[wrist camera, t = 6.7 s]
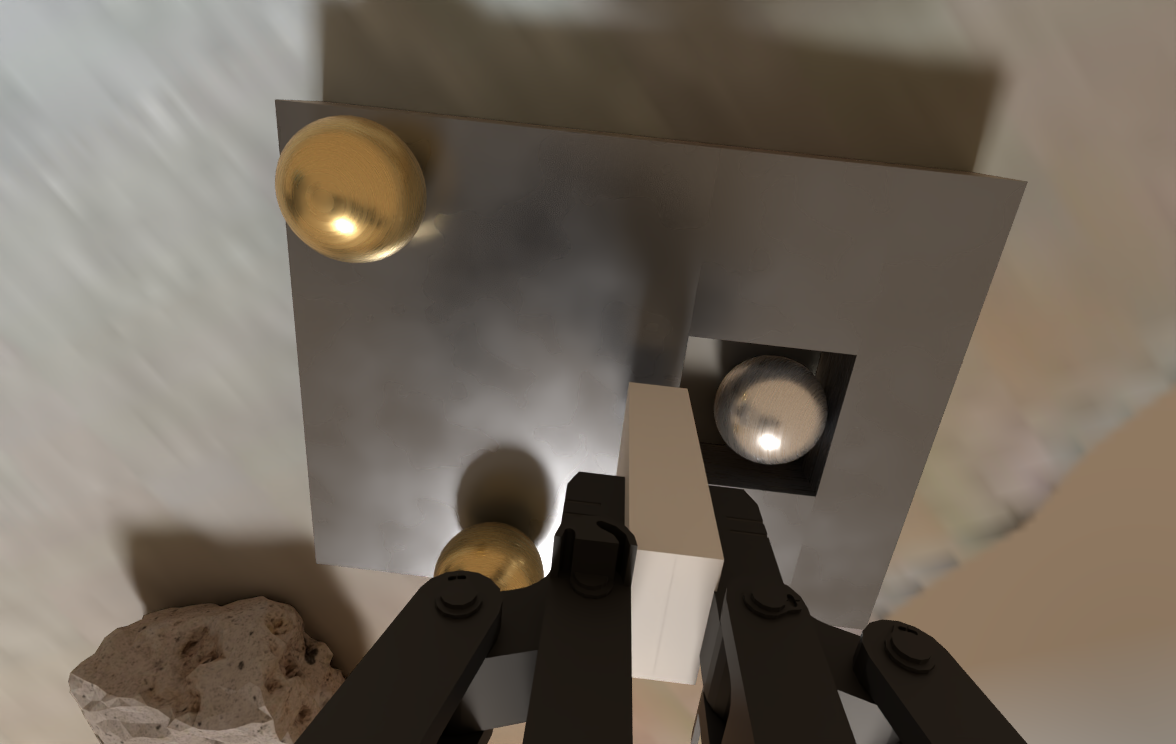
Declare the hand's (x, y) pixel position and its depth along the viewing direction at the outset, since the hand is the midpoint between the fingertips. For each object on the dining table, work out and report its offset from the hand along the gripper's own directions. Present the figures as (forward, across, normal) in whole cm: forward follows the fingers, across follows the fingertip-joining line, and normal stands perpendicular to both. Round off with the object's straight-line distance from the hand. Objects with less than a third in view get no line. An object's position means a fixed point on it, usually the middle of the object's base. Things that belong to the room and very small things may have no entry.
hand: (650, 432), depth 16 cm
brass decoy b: (0, -4, -5) cm, 7 cm away
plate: (+4, -1, 0) cm, 4 cm away
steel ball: (+2, +4, 0) cm, 4 cm away
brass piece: (0, -8, +5) cm, 9 cm away
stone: (+4, -14, -17) cm, 23 cm away
